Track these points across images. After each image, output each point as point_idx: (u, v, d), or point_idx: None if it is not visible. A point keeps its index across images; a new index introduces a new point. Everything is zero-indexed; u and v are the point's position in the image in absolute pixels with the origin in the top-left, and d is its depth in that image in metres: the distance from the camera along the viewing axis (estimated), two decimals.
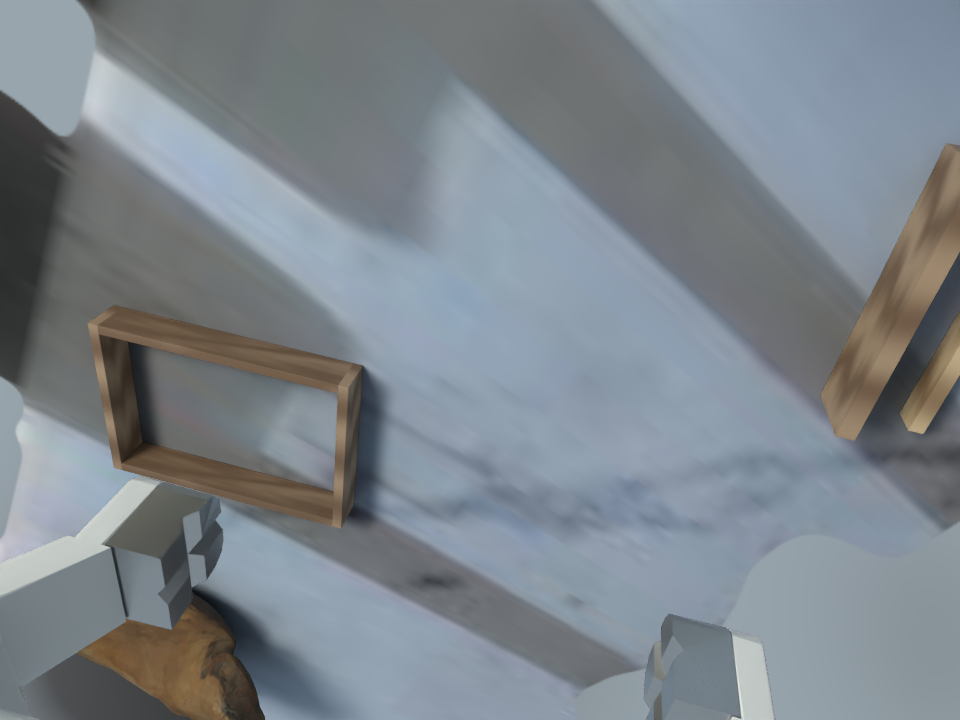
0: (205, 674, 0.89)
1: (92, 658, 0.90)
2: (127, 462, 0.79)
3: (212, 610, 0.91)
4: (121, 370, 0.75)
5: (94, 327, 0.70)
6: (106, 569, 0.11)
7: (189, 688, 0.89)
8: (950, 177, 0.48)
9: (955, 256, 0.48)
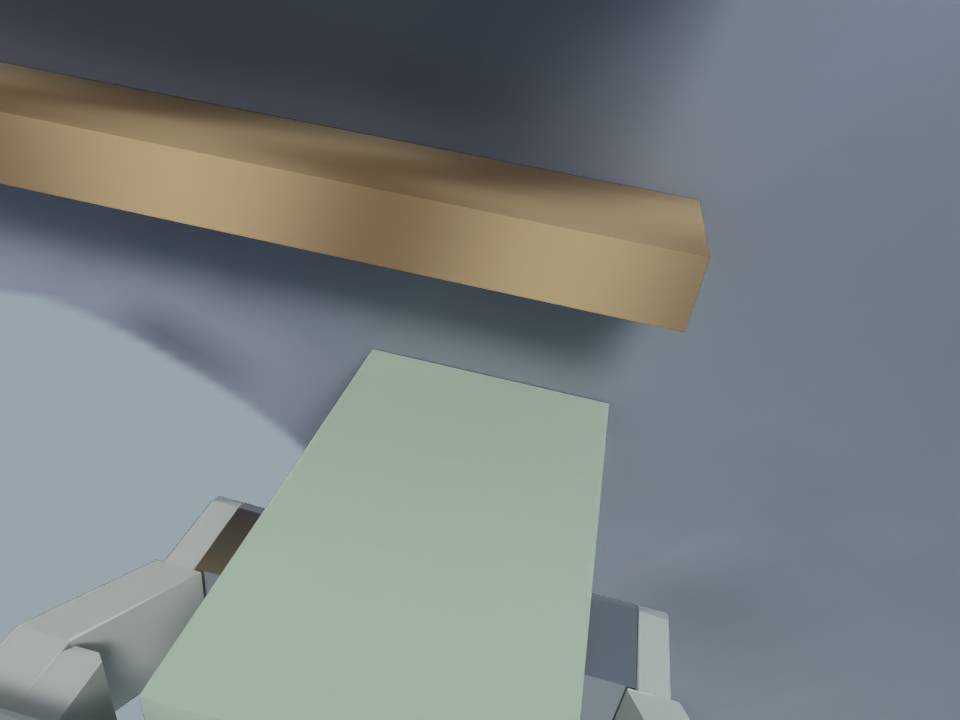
0: None
1: None
2: None
3: None
4: None
5: None
6: (195, 594, 0.11)
7: None
8: None
9: None
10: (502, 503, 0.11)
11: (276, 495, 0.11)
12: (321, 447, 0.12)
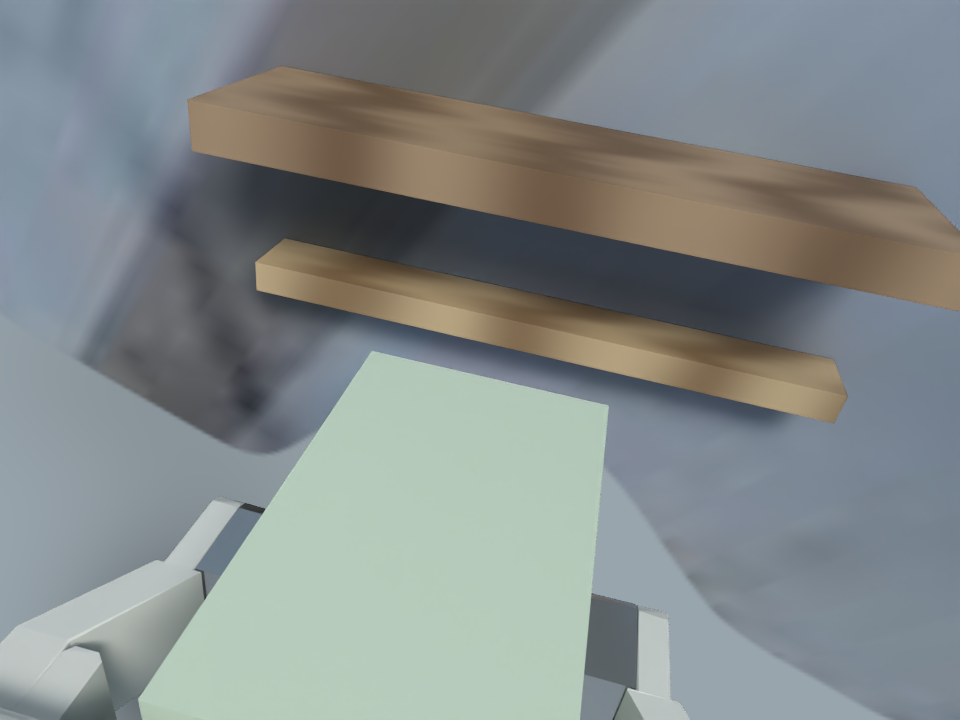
0: None
1: None
2: None
3: None
4: None
5: None
6: (195, 594, 0.11)
7: None
8: (890, 207, 0.21)
9: (735, 261, 0.19)
10: (501, 506, 0.11)
11: (275, 497, 0.11)
12: (320, 449, 0.12)
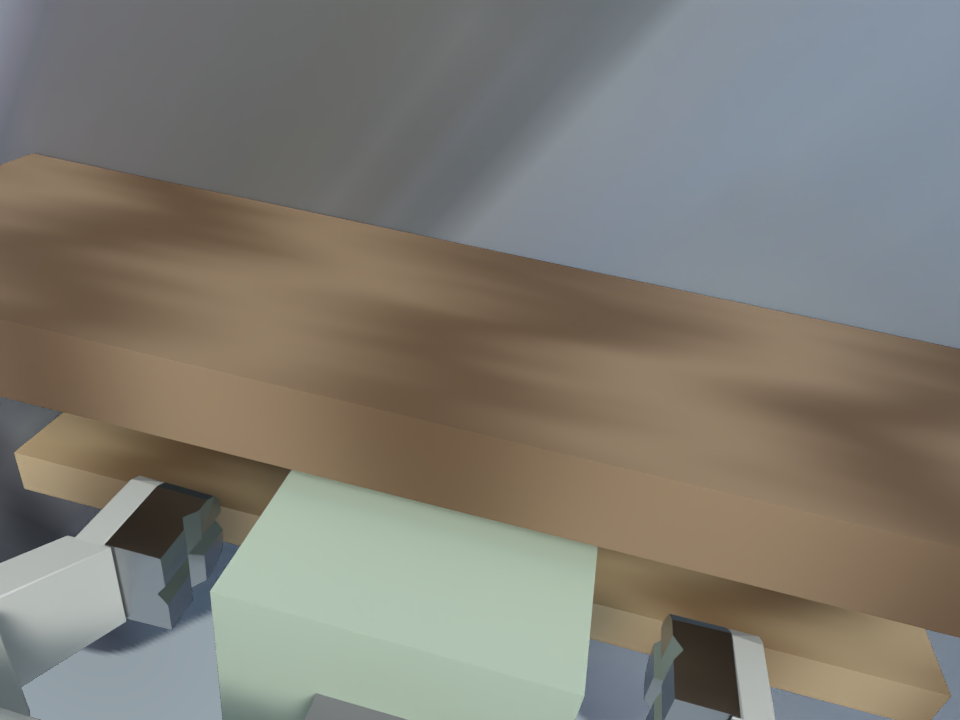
0: None
1: None
2: None
3: None
4: None
5: None
6: (106, 569, 0.11)
7: None
8: None
9: (788, 589, 0.10)
10: None
11: None
12: None
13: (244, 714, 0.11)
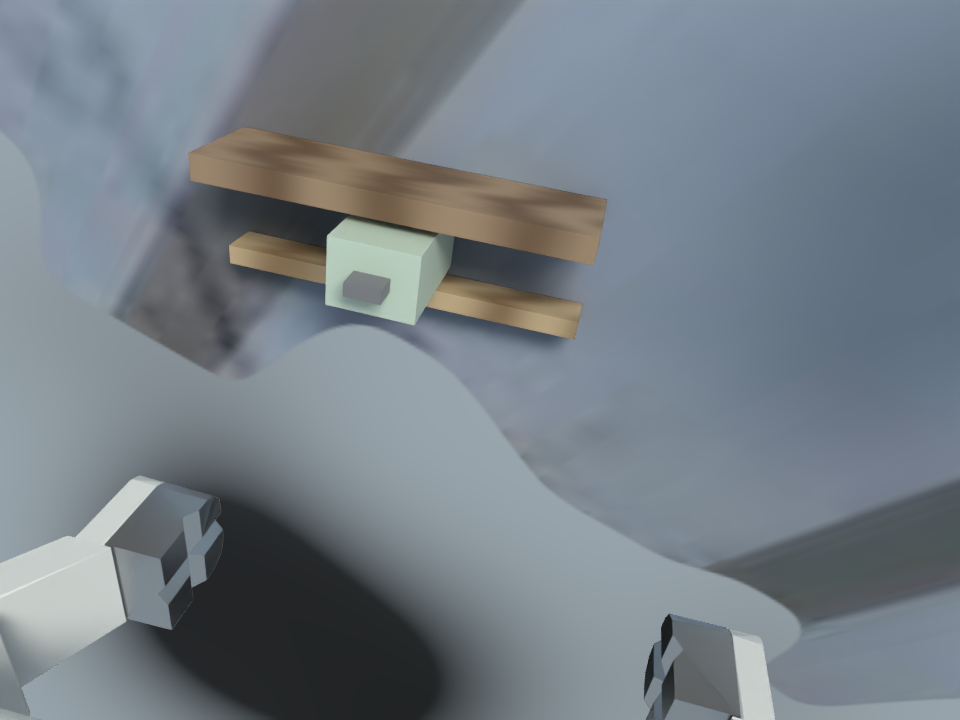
0: None
1: None
2: None
3: None
4: None
5: None
6: (106, 569, 0.11)
7: None
8: (574, 211, 0.38)
9: (481, 240, 0.36)
10: None
11: None
12: None
13: (332, 284, 0.37)
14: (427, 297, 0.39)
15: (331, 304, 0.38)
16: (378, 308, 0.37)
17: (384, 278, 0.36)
